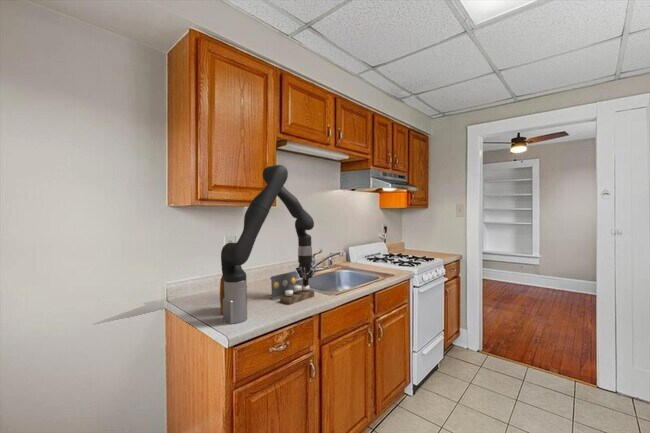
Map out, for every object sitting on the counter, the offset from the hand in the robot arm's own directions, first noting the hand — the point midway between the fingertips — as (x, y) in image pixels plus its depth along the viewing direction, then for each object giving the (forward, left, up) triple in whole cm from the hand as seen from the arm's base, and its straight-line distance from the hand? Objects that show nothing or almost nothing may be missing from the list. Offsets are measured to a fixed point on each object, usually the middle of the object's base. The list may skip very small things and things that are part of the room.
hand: (305, 286), depth 165 cm
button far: (0, 0, -2) cm, 2 cm away
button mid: (-6, 0, -1) cm, 6 cm away
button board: (-6, 0, -6) cm, 8 cm away
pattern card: (-6, +10, -6) cm, 13 cm away
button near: (-12, 0, -2) cm, 12 cm away
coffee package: (-37, +10, -6) cm, 39 cm away
